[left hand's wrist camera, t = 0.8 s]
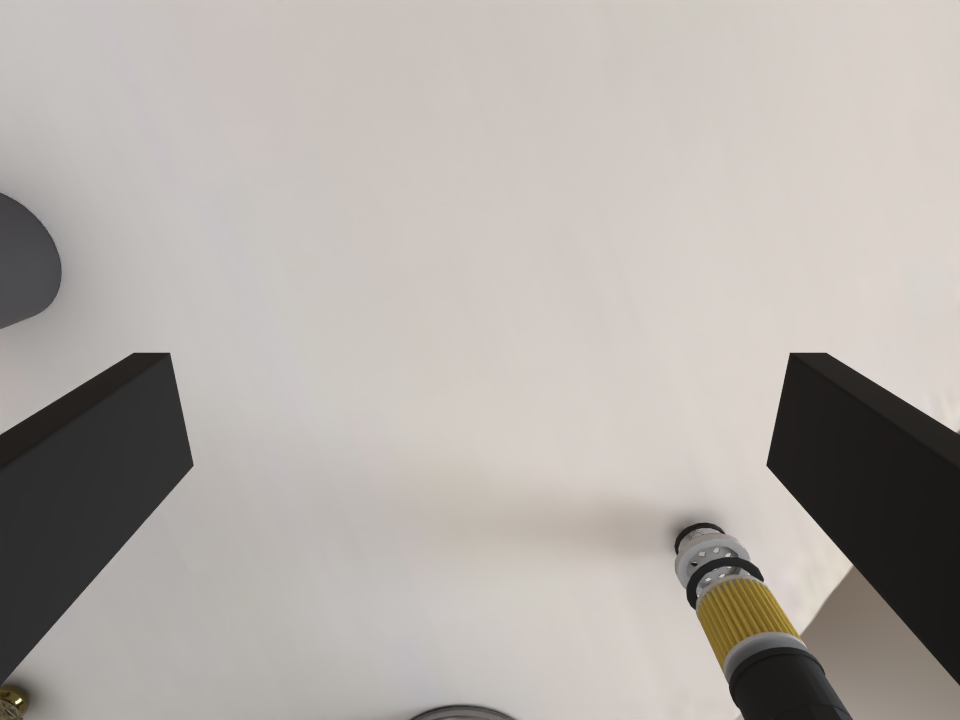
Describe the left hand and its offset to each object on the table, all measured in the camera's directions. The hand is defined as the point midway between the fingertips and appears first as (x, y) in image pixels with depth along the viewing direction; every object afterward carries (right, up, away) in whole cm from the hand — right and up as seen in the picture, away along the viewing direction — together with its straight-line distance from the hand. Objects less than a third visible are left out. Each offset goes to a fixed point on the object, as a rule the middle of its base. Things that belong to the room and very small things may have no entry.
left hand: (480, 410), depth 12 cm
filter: (+18, -13, +35) cm, 42 cm away
